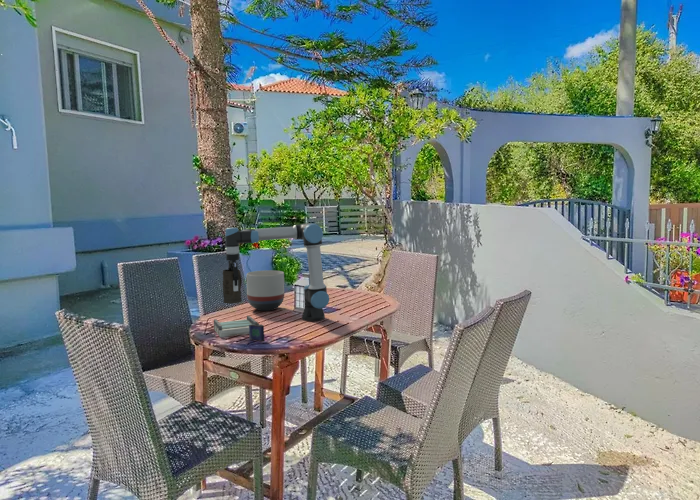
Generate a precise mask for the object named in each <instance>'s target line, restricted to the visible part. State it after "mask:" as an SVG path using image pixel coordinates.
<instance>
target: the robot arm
mask: <svg viewBox="0 0 700 500" xmlns="http://www.w3.org/2000/svg"><path fill="white" fill-rule="evenodd" d="M323 237H324V232H323V229H322V227H321V226H320V225H319V224H316V223H310V222H305V223H302V224H300V223H299V224H294V225H293V226H284V227H283V226H281V227H279V226H278V227H267V228H250V229H249V228H243V229H242V230H239V228H238V227H227V228H226V229H225V248H224V250H225V251H226V255H225V256H226V257H225V259H226V261H228V269H230V271H233V272H234V273H233V290H234V291H238V280H239V276H238V270H239V269H238V267H239V266H238V262H237V261H239V260H240V254H239V253H240V246H239V245H240V244H254V243H255V244H257V243H258V242H260V241H271V240H272V241H273V240H287V239H289V240H290V239H294V240H297V241H298V240H302V242H303V247H305V248H306V255H307V256H306V257H307V264H308V265H307V267H308V274H309V284H307V285H304V289H303V291H304V295H303V296H304V300H303V301H304V307H303V308H304V309H303V312H302V316H301V319H302V320H303V321H307V322H318V321H323V320H325V317H326V316H325V312H324V308H325V307H327V306H328V304H329V302H330V296H329V294H328V292H327V291H328V289H327V285H326V284H325V283H324V275H323V273H324V271H323V265H322V264H323V263H322V254H321V246H322V245H323Z"/></svg>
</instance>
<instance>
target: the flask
mask: <svg viewBox="0 0 700 500" xmlns="http://www.w3.org/2000/svg"><path fill="white" fill-rule="evenodd" d="M264 327H265V326H264V325H263V324H260V323H259V322H258V321H256V322H255V324H250V325H249V334H248V335H249V338H248V339H249V340H250V341H254V340H256V341H255V342H264V341H265V328H264Z"/></svg>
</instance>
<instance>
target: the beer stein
mask: <svg viewBox="0 0 700 500" xmlns="http://www.w3.org/2000/svg"><path fill="white" fill-rule="evenodd" d="M233 273H234V272H233V271H230V269H229V268H228V269H224V270H223V271H222V295H223V303H224V304H227V305H228V304H229V305H231V304H239V303H241V302H242V291H241V288H242V283H243V279H242V274H241V270H240V269H238V276H239V280H238V291H234V290H233Z"/></svg>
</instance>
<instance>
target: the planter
mask: <svg viewBox="0 0 700 500" xmlns="http://www.w3.org/2000/svg"><path fill="white" fill-rule="evenodd" d="M246 297H247V303H249V305H250V306H251V307H252V308H254V309H255V310H257V311H262V312H264V311H265V312H267V311H272V310H276V309H277V308H278V307H279V306H281V305H282V303H283V302H284V300H285V272H284V271H282V270H275V269H274V270H273V269H271V270H269V269H268V270H254V271H249V272H247V273H246Z"/></svg>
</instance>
